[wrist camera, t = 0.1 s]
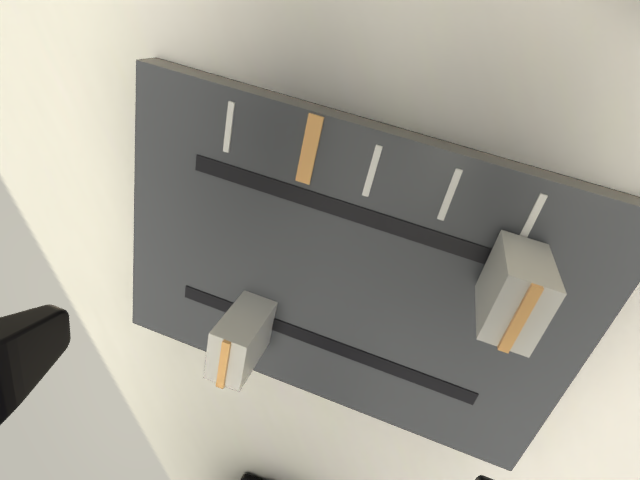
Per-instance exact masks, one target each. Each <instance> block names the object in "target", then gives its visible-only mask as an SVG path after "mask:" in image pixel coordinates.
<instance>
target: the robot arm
mask: <svg viewBox="0 0 640 480" xmlns="http://www.w3.org/2000/svg"><path fill="white" fill-rule="evenodd" d="M69 342H70V326H69V315H68V312H67V311H66V310H64V309H61V308H59V307H57V306H54V305H44V306H41V307H37V308H33V309H29V310H26V311H22V312H19V313H16V314H12V315H8V316H4V317H1V318H0V425H1V424H2V423H3V422H4V421H5V420H6V419H7V418H8V417H9V416H10V415H11V413H12V412H13V411H14V410H15V409H16V408H17V407H18V406H19V405H20V404H21V403H22V402H23V400H24V399H25V398H26V397H27V396H28V395H29V393H30V392H31V391H32V390H33V388H34V387H35V386H36V385H37V384H38V382H39V381H40V380H41V379H42V378H43V376H44V375H45V374H46V373H47V372H48V370H49V369H50V368H51V367H52V366H53V364H54V363H55V362H56V361H57V360H58V358H59V357H60V356H61V355H62V353H63V352H64V351H65V350H66V348H67V347H68V345H69ZM241 480H261V479H259V478H257V477H254V476H252V475H250V474H243V476H242V478H241ZM475 480H493V479H490V478H488V477H485V476H483V475H480V476H478V477H477V478H476V479H475Z"/></svg>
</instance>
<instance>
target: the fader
mask: <svg viewBox="0 0 640 480" xmlns="http://www.w3.org/2000/svg"><path fill="white" fill-rule="evenodd" d="M566 295H567V293H566V291H565V288H564V285H563V282H562V280H561V277H560V274H559V271H558V268H557V266H556V263H555V260H554V257H553V255H552V252H551V249H550V246H549V244H546V243H543V242H539V241H536V240H533V239H530V238H527V237H523V236H520V235H517V234H514V233H511V232H507V231H504V230H501V231H500V233H499V235H498V238H497V240H496V242H495V244H494V246H493V248H492V250H491V253H490V255H489V257H488V259H487V261H486V263H485V266H484V268H483V270H482V272H481V274H480V276H479V278H478V281H477V283H476V285H475V308H476V339H477V340H480V341H483V342H485V343H488V344H491V345H494V346H497V349H498V350H499V351H502V352H505V353H509V351H511V352H514V353H517V354H520V355H522V356H525V357H528V358H529V357H530V356H531V354H532V352H533V351H534V349H535V347H536V345H537V344H538V342H539V340H540V339H541V337H542V335H543V334H544V332H545V330H546V329H547V327H548V325H549V324H550V322H551V320H552V318H553V317H554V315H555V313H556V312H557V310H558V308H559V307H560V305H561V303H562V302H563V300H564V298H565V296H566Z"/></svg>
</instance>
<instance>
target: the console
mask: <svg viewBox="0 0 640 480" xmlns="http://www.w3.org/2000/svg"><path fill="white" fill-rule="evenodd" d="M501 230H504V231H507V232H511V233H514V234H517V235H520V236H523V237H527V238H530V239H533V240H536V241H539V242H543V243H546V244H549V246H550V249H551V252H552V255H553V257H554V260H555V263H556V266H557V268H558V271H559V274H560V277H561V280H562V282H563V285H564V288H565V291H566V293H567V295H566V296H565V298H564V300H563V302H562V303H561V305H560V307H559V308H558V310H557V312H556V313H555V315H554V317H553V318H552V320H551V322H550V324H549V325H548V327H547V329H546V330H545V332H544V334H543V335H542V337H541V339H540V340H539V342H538V344H537V345H536V347H535V349H534V351H533V352H532V354H531V356H530V357H529V358H528V357H525V356H522V355H520V354H517V353H514V352H511V351H509V353H505V352H502V351H499V350H498V349H497V346H494V345H491V344H488V343H485V342H483V341H480V340H477V339H476V308H475V285H476V283H477V281H478V278H479V276H480V274H481V272H482V270H483V268H484V266H485V263H486V261H487V259H488V257H489V255H490V253H491V250H492V248H493V246H494V244H495V242H496V240H497V238H498V235H499V233H500V231H501ZM639 282H640V197H637V196H634V195H630V194H627V193H623V192H620V191H616V190H613V189H609V188H606V187H602V186H599V185H595V184H592V183H589V182H585V181H582V180H578V179H575V178H571V177H568V176H564V175H561V174H557V173H554V172H550V171H547V170H543V169H540V168H537V167H533V166H530V165H526V164H523V163H519V162H516V161H512V160H509V159H505V158H502V157H498V156H495V155H491V154H488V153H485V152H481V151H478V150H474V149H471V148H467V147H464V146H460V145H457V144H453V143H450V142H446V141H443V140H439V139H436V138H433V137H429V136H426V135H422V134H419V133H415V132H412V131H408V130H405V129H401V128H398V127H394V126H391V125H388V124H384V123H381V122H377V121H374V120H370V119H367V118H363V117H360V116H356V115H353V114H349V113H346V112H342V111H339V110H336V109H332V108H329V107H325V106H322V105H318V104H315V103H311V102H308V101H304V100H301V99H297V98H294V97H290V96H287V95H284V94H280V93H277V92H273V91H270V90H266V89H263V88H259V87H256V86H252V85H249V84H245V83H242V82H238V81H235V80H232V79H228V78H225V77H221V76H218V75H214V74H211V73H207V72H204V71H200V70H197V69H193V68H190V67H187V66H183V65H180V64H176V63H173V62H169V61H166V60H162V59H159V58H147V59H139V60H136V115H135V187H134V259H133V323H134V324H137V325H140V326H142V327H145V328H147V329H150V330H152V331H155V332H157V333H160V334H162V335H165V336H168V337H170V338H173V339H175V340H178V341H180V342H183V343H185V344H188V345H190V346H193V347H196V348H198V349H201V350H203V351H206V360H205V368H204V376H203V378H205V379H208V380H210V381H213V382H215V383H216V387H219V388H221V389H223V388H224V387H228V388H230V389H232V390H235V391H237V392H240V390H241V388H242V387H243V385H244V383H245V382H246V380H247V379H248V377H249V375H250V374H251V372H252V370H254V371H257V372H259V373H262V374H264V375H267V376H269V377H272V378H275V379H277V380H280V381H282V382H285V383H287V384H290V385H292V386H295V387H297V388H300V389H303V390H305V391H308V392H310V393H313V394H315V395H318V396H320V397H323V398H325V399H328V400H331V401H333V402H336V403H338V404H341V405H343V406H346V407H348V408H351V409H353V410H356V411H359V412H361V413H364V414H366V415H369V416H371V417H374V418H376V419H379V420H381V421H384V422H387V423H389V424H392V425H394V426H397V427H399V428H402V429H404V430H407V431H410V432H412V433H415V434H417V435H420V436H422V437H425V438H427V439H430V440H432V441H435V442H438V443H440V444H443V445H445V446H448V447H450V448H453V449H455V450H458V451H460V452H463V453H466V454H468V455H471V456H473V457H476V458H478V459H481V460H483V461H486V462H488V463H491V464H494V465H496V466H499V467H501V468H504V469H506V470H509V471H512V470H513V468H514V467H515V465H516V464H517V462H518V461H519V459H520V458H521V456H522V455H523V453H524V452H525V450H526V449H527V447H528V446H529V445H530V443H531V442H532V440H533V439H534V437H535V436H536V434H537V433H538V431H539V430H540V428H541V427H542V425H543V424H544V422H545V421H546V419H547V418H548V416H549V415H550V414H551V412H552V411H553V409H554V408H555V406H556V405H557V403H558V402H559V400H560V399H561V397H562V396H563V394H564V393H565V391H566V390H567V388H568V387H569V385H570V384H571V383H572V381H573V380H574V378H575V377H576V375H577V374H578V372H579V371H580V369H581V368H582V366H583V365H584V363H585V362H586V360H587V359H588V357H589V356H590V355H591V353H592V352H593V350H594V349H595V347H596V346H597V344H598V343H599V341H600V340H601V338H602V337H603V335H604V334H605V332H606V331H607V329H608V328H609V326H610V325H611V324H612V322H613V321H614V319H615V318H616V316H617V315H618V313H619V312H620V310H621V309H622V307H623V306H624V304H625V303H626V301H627V300H628V298H629V297H630V295H631V294H632V293H633V291H634V290H635V288H636V287H637V285H638V284H639Z"/></svg>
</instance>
